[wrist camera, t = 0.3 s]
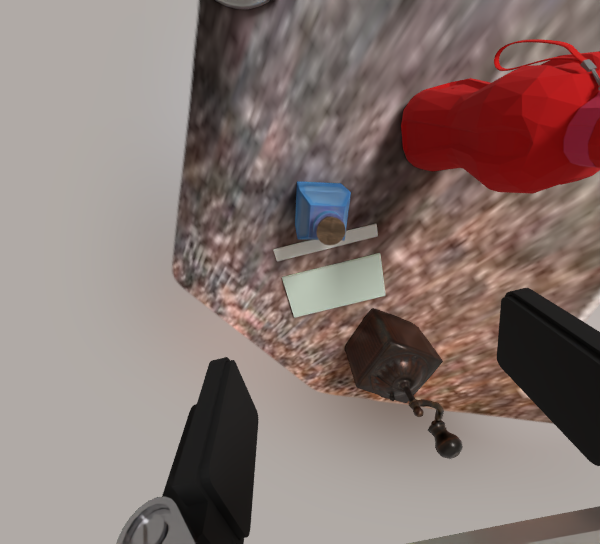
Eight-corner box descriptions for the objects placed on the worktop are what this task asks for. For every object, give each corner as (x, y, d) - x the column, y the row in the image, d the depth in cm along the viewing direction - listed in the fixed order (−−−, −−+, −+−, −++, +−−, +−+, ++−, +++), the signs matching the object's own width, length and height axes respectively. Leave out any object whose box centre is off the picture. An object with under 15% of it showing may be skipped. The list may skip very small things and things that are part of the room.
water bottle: (468, 60, 35) (796, -50, 13) (467, 154, 40) (702, 191, 18) (393, 81, 36) (586, 10, 13) (401, 172, 41) (551, 229, 18)
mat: (282, 277, 47) (282, 278, 46) (379, 252, 46) (380, 253, 46) (294, 316, 50) (294, 317, 50) (384, 294, 50) (385, 295, 49)
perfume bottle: (341, 183, 41) (363, 204, 30) (336, 225, 44) (355, 258, 33) (297, 181, 40) (304, 201, 30) (295, 224, 43) (300, 257, 32)
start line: (273, 249, 45) (273, 250, 44) (375, 223, 44) (376, 223, 44) (277, 260, 45) (276, 261, 45) (377, 235, 45) (377, 236, 44)
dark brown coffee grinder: (340, 351, 55) (366, 444, 39) (371, 305, 51) (415, 389, 35) (406, 373, 59) (455, 466, 43) (440, 333, 55) (508, 420, 39)
